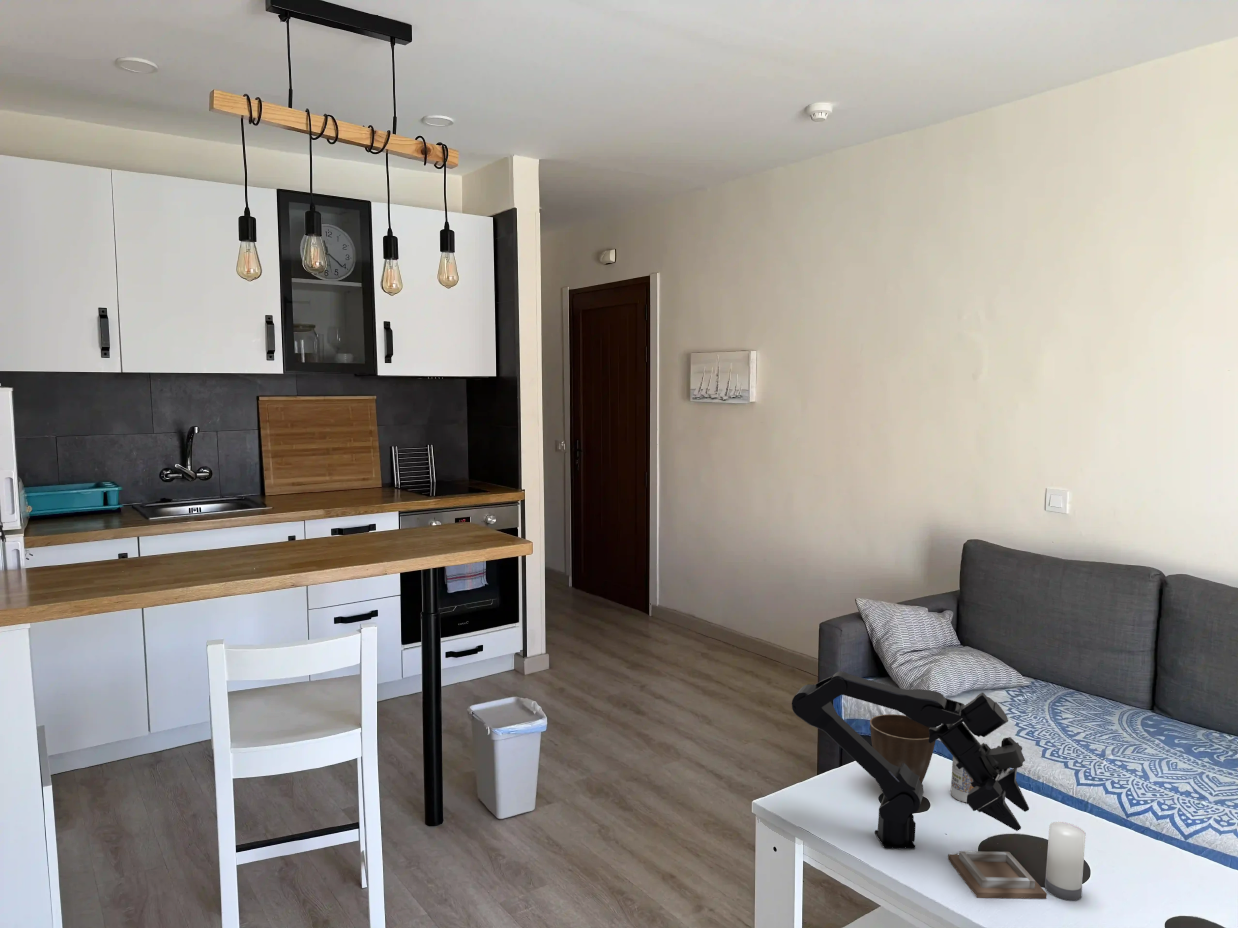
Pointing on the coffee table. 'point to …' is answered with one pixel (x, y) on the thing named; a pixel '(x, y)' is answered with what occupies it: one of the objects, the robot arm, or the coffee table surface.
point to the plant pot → (902, 742)
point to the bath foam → (961, 778)
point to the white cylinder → (1065, 861)
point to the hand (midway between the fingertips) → (1023, 819)
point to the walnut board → (995, 875)
